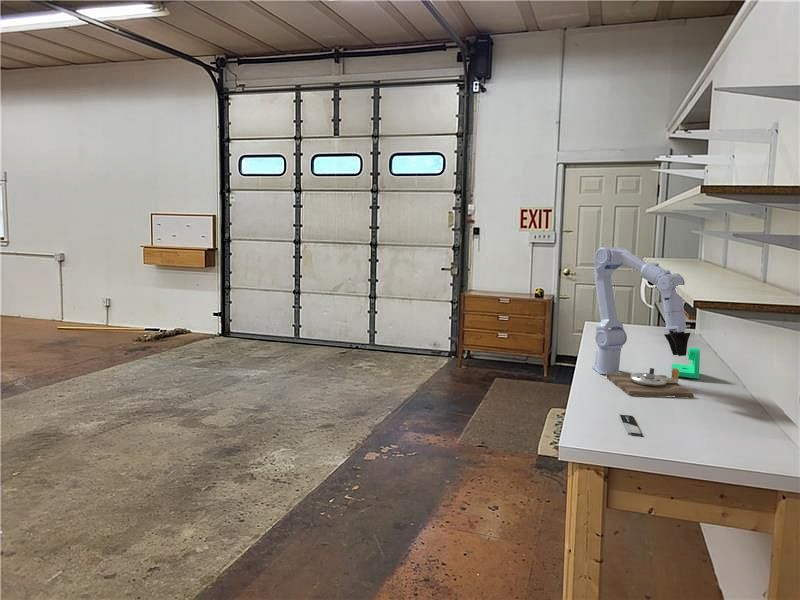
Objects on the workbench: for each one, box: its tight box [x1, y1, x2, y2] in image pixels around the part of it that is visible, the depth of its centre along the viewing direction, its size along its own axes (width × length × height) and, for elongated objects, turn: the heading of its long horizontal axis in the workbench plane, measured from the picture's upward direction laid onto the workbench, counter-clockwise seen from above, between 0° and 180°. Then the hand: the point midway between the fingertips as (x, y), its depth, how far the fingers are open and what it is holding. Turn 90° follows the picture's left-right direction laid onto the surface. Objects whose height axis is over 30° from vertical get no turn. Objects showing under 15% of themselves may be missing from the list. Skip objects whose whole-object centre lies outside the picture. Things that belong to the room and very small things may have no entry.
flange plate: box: [630, 368, 680, 386], centre depth 193 cm, size 15×11×5 cm
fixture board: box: [605, 373, 694, 399], centre depth 194 cm, size 20×20×2 cm
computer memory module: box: [619, 414, 645, 438], centre depth 157 cm, size 15×1×4 cm
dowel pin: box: [648, 367, 655, 375], centre depth 199 cm, size 1×1×3 cm
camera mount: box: [671, 347, 701, 379], centre depth 210 cm, size 12×8×10 cm, turn 160°
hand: (679, 355), depth 186 cm, fingers open, 7 cm apart
